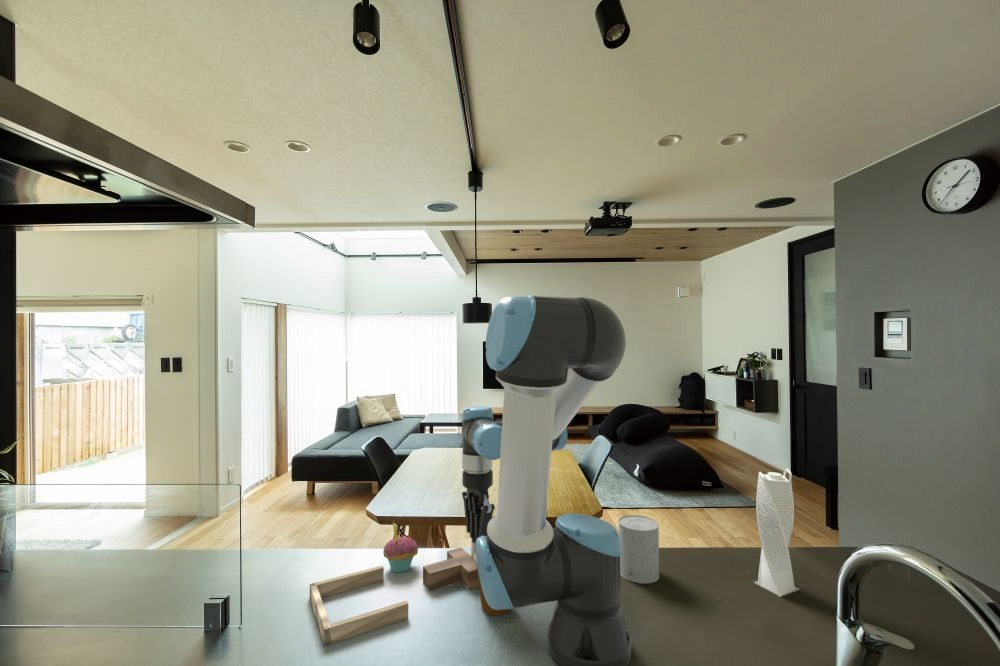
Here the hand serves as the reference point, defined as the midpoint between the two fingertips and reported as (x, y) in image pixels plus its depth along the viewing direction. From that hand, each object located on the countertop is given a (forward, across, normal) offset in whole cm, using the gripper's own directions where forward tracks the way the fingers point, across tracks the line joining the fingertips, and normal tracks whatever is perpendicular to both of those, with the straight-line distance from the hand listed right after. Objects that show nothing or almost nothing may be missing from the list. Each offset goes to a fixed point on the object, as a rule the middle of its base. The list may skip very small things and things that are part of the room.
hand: (477, 565), depth 111 cm
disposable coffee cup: (+2, -15, +3) cm, 16 cm away
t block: (+2, 0, +8) cm, 8 cm away
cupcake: (+2, +12, +16) cm, 20 cm away
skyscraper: (+2, -42, -56) cm, 70 cm away
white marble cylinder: (+2, -21, -34) cm, 40 cm away
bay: (+1, 0, +28) cm, 29 cm away
